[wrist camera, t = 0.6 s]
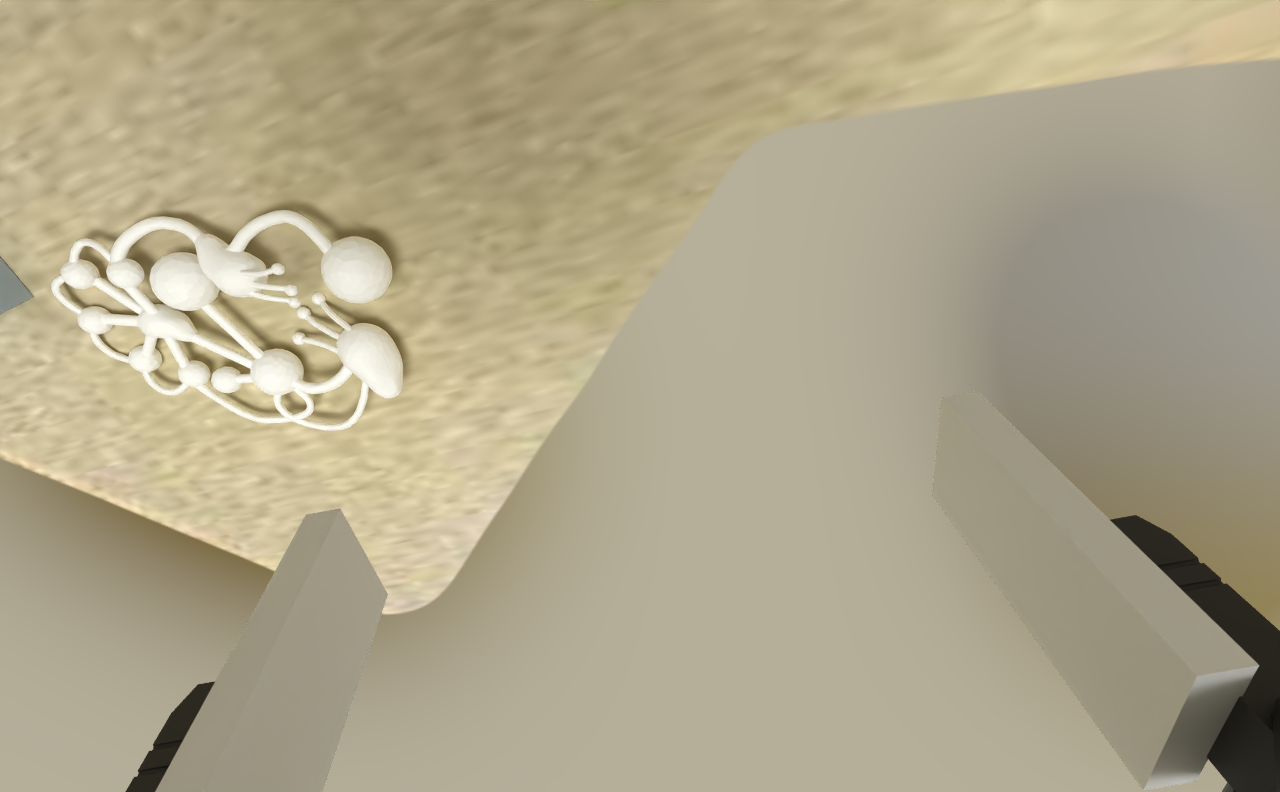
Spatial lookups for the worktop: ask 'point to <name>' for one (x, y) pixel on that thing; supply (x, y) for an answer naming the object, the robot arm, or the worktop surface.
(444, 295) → the worktop surface
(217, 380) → the tangled rod sculpture
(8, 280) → the frame
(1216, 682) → the robot arm
